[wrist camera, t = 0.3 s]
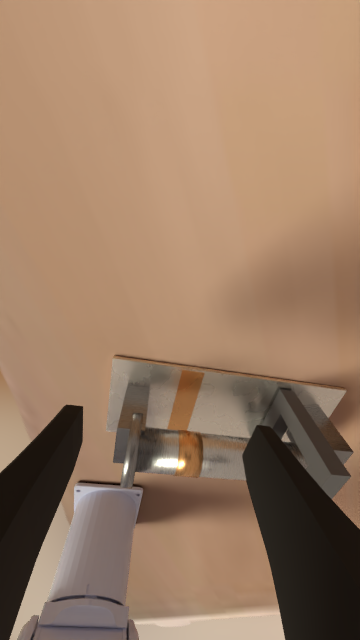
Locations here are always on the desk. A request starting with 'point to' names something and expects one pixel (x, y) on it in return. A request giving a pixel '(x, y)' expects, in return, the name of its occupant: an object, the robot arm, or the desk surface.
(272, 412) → the collar
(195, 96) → the desk surface
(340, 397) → the rail
